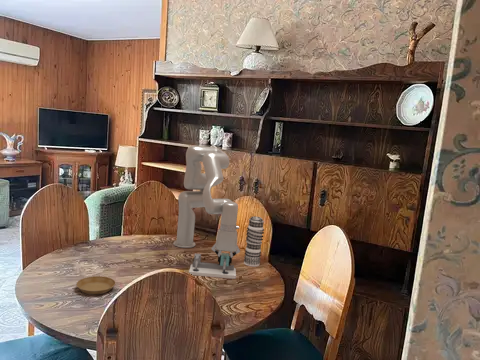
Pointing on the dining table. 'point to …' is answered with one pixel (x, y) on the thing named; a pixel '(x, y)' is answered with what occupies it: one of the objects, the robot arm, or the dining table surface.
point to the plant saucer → (95, 285)
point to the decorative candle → (254, 241)
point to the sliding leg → (224, 260)
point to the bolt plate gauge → (211, 269)
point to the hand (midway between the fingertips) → (224, 263)
